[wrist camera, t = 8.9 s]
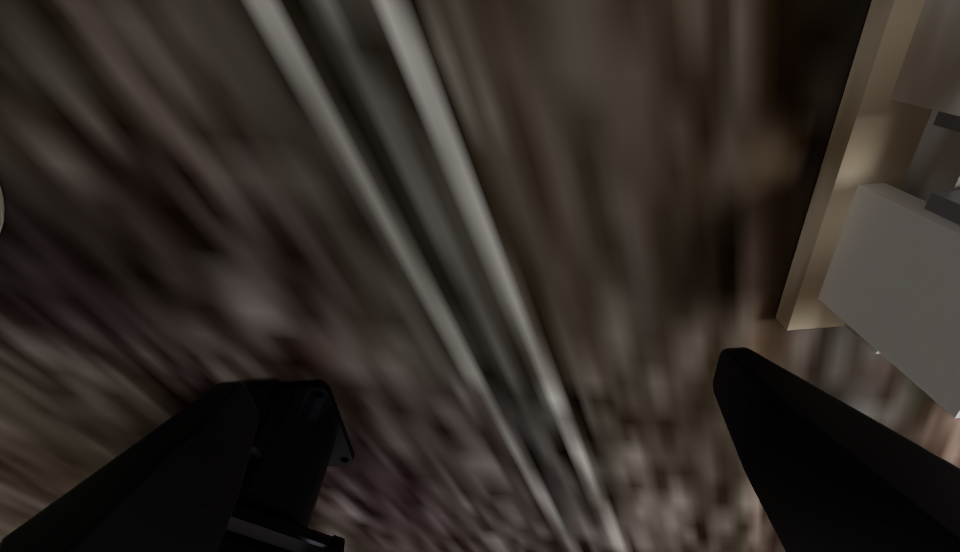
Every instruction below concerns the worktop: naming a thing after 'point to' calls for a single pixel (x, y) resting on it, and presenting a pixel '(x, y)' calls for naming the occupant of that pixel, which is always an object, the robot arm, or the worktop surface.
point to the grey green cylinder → (1, 209)
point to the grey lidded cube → (903, 283)
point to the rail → (882, 137)
